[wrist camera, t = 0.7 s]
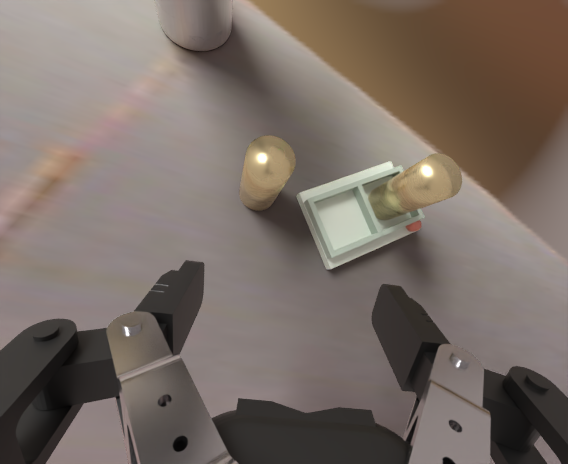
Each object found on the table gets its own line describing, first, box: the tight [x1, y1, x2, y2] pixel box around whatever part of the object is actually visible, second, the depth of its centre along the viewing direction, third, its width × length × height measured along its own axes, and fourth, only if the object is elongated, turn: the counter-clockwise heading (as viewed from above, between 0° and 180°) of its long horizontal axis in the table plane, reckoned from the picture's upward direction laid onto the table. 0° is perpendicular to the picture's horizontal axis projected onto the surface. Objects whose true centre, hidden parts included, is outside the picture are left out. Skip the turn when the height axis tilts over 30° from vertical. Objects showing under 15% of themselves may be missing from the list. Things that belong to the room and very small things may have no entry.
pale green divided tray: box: [296, 161, 425, 270], centre depth 35 cm, size 10×14×3 cm
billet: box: [239, 136, 295, 211], centre depth 29 cm, size 4×4×10 cm
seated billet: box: [368, 154, 462, 220], centre depth 31 cm, size 4×4×10 cm
